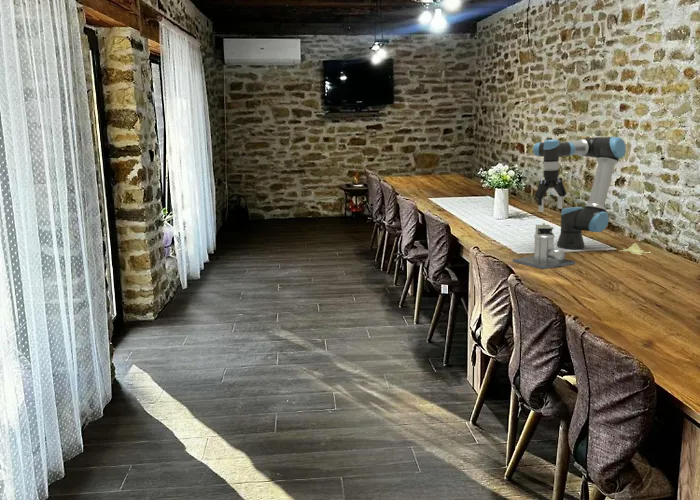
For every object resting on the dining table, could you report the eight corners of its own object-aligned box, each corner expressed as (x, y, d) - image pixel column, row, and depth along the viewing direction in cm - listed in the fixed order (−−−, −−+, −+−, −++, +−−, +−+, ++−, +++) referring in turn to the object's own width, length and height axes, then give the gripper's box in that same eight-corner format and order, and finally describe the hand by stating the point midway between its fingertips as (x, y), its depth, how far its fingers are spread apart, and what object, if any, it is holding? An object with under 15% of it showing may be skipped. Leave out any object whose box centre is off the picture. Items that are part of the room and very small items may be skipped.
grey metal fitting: (529, 259, 318) (530, 235, 315) (543, 257, 322) (544, 233, 320) (553, 265, 303) (554, 239, 300) (568, 262, 307) (569, 237, 305)
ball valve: (554, 258, 325) (555, 225, 322) (537, 258, 327) (538, 225, 324) (550, 252, 343) (551, 221, 339) (534, 252, 344) (535, 221, 341)
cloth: (607, 251, 352) (608, 241, 351) (634, 249, 357) (635, 239, 355) (634, 258, 331) (635, 247, 330) (663, 256, 335) (663, 245, 334)
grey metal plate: (544, 257, 330) (544, 239, 328) (575, 264, 311) (576, 245, 309) (512, 261, 321) (512, 244, 319) (542, 269, 301) (543, 250, 299)
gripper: (562, 167, 326) (562, 206, 331) (527, 171, 315) (527, 211, 319) (573, 167, 320) (573, 207, 324) (538, 172, 309) (538, 213, 313)
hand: (550, 210), depth 322 cm, fingers open, 13 cm apart
